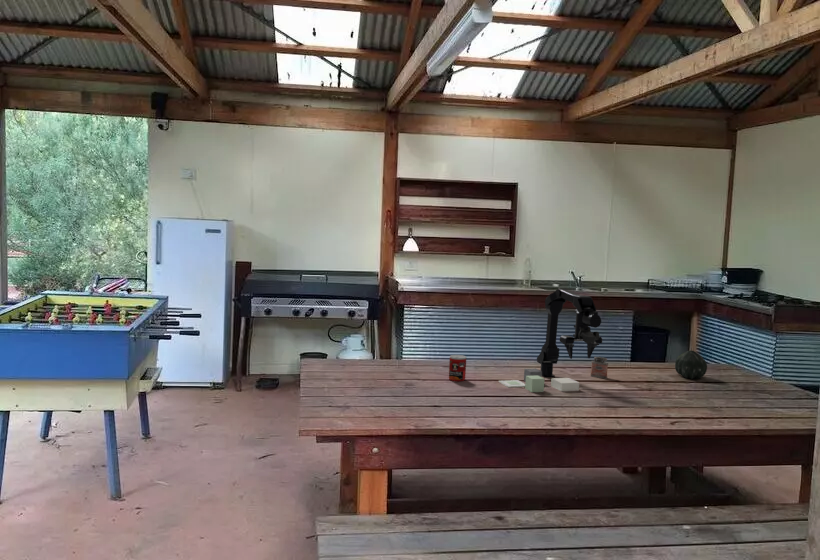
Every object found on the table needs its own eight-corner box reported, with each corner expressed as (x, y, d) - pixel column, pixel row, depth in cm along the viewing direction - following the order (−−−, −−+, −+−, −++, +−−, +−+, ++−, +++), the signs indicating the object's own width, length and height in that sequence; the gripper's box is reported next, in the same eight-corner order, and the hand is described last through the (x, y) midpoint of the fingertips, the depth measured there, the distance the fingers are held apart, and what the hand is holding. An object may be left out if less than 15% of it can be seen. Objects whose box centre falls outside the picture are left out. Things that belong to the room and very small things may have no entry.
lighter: (589, 376, 318) (591, 356, 317) (591, 375, 321) (592, 355, 320) (606, 378, 314) (607, 358, 313) (607, 377, 317) (609, 357, 316)
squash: (695, 362, 336) (682, 342, 331) (717, 370, 321) (704, 349, 317) (677, 381, 333) (663, 360, 329) (698, 389, 319) (684, 368, 315)
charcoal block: (523, 381, 302) (524, 368, 301) (535, 380, 304) (535, 368, 303) (529, 384, 296) (530, 371, 296) (541, 384, 298) (542, 371, 297)
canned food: (446, 380, 297) (447, 356, 296) (451, 376, 304) (452, 353, 303) (462, 382, 294) (463, 358, 293) (467, 378, 301) (468, 355, 300)
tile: (498, 381, 298) (498, 380, 298) (517, 381, 301) (518, 379, 301) (508, 387, 288) (508, 385, 288) (528, 386, 291) (528, 385, 291)
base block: (550, 386, 294) (551, 378, 294) (568, 386, 297) (568, 377, 297) (561, 392, 286) (561, 383, 286) (578, 391, 289) (579, 382, 288)
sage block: (525, 388, 288) (525, 375, 287) (537, 388, 289) (537, 375, 289) (531, 392, 282) (532, 379, 281) (543, 391, 284) (544, 378, 283)
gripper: (573, 327, 275) (571, 362, 277) (610, 326, 281) (608, 361, 282) (560, 322, 286) (557, 357, 287) (596, 322, 292) (593, 356, 293)
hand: (579, 358), depth 287 cm, fingers open, 9 cm apart
